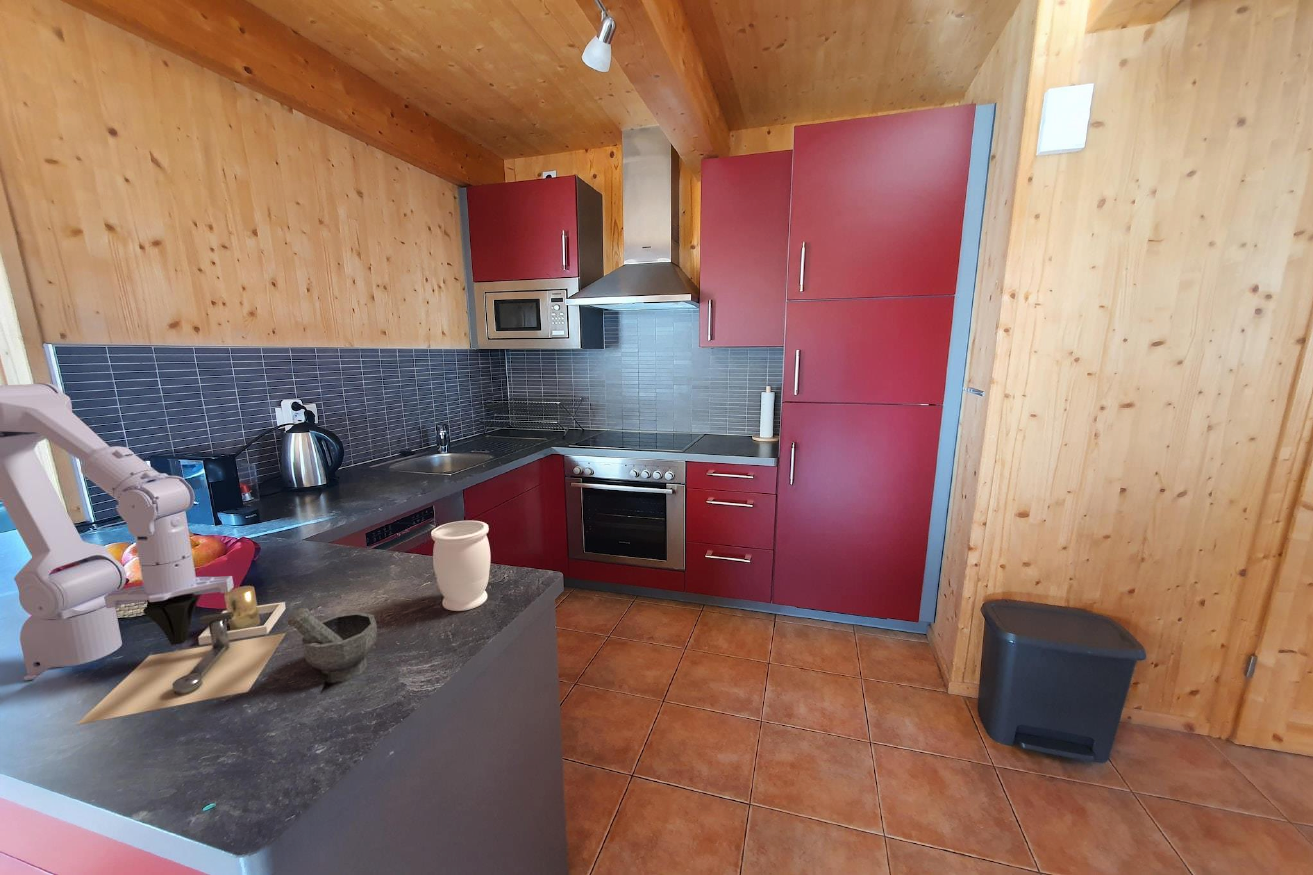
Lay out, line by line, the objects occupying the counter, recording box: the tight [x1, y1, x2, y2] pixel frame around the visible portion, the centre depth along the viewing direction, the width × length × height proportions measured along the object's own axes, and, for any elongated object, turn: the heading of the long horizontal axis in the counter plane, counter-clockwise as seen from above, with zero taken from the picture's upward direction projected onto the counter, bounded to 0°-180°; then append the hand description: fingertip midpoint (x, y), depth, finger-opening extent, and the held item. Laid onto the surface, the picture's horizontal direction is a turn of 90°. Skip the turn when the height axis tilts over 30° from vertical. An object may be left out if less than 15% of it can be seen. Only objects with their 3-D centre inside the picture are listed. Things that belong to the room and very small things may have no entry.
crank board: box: [75, 632, 287, 726], centre depth 74 cm, size 18×16×1 cm
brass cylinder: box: [223, 585, 261, 631], centre depth 86 cm, size 4×4×7 cm
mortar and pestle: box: [286, 607, 378, 684], centre depth 75 cm, size 11×9×12 cm
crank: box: [172, 612, 234, 695], centre depth 74 cm, size 12×4×6 cm, turn 20°
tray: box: [197, 601, 286, 646], centre depth 87 cm, size 9×9×2 cm
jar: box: [430, 520, 491, 612], centre depth 97 cm, size 11×10×15 cm
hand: (180, 641), depth 77 cm, fingers closed
